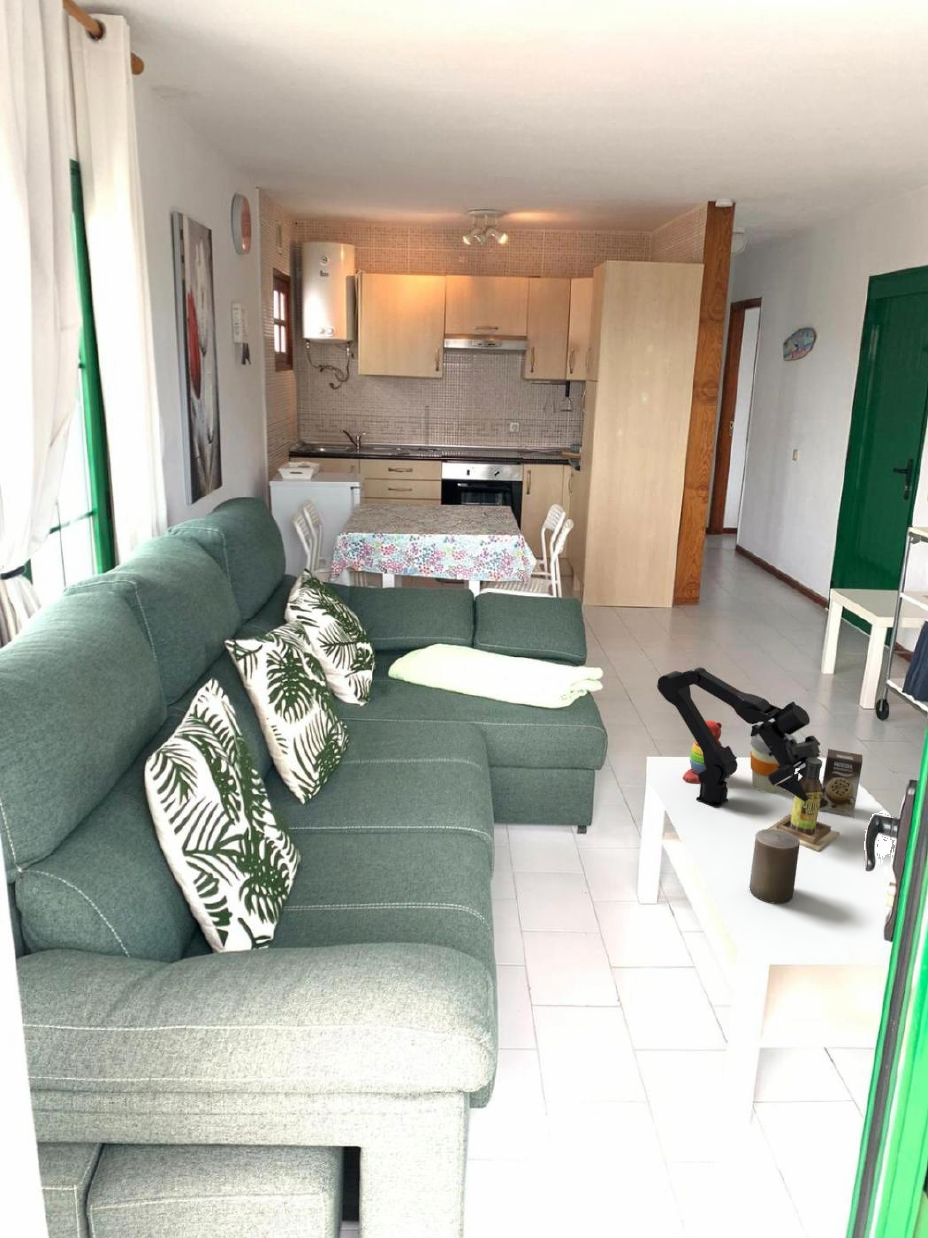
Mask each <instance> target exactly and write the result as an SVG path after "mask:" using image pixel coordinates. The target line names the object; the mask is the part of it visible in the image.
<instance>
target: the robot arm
mask: <svg viewBox="0 0 928 1238" xmlns="http://www.w3.org/2000/svg"><path fill="white" fill-rule="evenodd" d="M693 685H694V686H697V687H698V688H700V689H702V690H703V691H705V692H707V693H709V694H710V695H712V696H713V697H715V698H717V699H718V700H720V701H722V702H723V703H725V704H727V705H728V706H730V707H731V708H732V709H733V710H734V712H735V713H736V715H737V716H739V717H740V718H741V719H742V720H743V721H745V723H747V724H749V725H751V732H750V737H751V738H752V737H753V736H755V735H756V734H759V735H760V737H761V738H762V740H763V741H764V743H765V744H766V746H767V747H768V749H769V750H770V752H769V753H768V755H769V756H770V757H771V756H772V755H773V756H774V758H775V759H776V761H777V762H778V763H779V765H780V766H778V767H777V768H778V769H777V770H776V771H774V772H772V773H771V774H769V778H768V780H769V781H770V783H771V784H772V786H773V785H775V784H777V783H778V782H780V783H779V784H777V787H778V786H780V787H781V788H783V789H785V790H786V791H787V792H788V793H790V794H792V795H793V796H794V797H795V796H797V797H798V798H800V799H801V800H803V801H807V800H808V797H807V795H806V793H805V792H804V790H803V788H802V786H801V784H800V783H799V775H800V776H801V777H802V776H803V775H804V771H805V761H806V758H808V757H815V758H819V757H820V756H821V754H820V753H821V751H820V747H819V746H821V742H819V741H818V739H817V737H815V736H814V735H809V736H805V738H804V741H800V742H798V741H797V742H796V741H795V740H794V739H791V740H789V738H788V737H787V735H786V734H789V735H793V734H794V733H797V732H798V731H799V730H801V729H803V728H805V727H806V726H808V725H810V722H811V720H810V715H809V714H808V712H807V710H805V709H804V708H802V707H801V706H800V705H798V704H796V703H795V701H791V702H789V703H788V704H787V705H785V706H784V707H783V708H781V707H778V706H776V705H774V704H771V703H770V702H769V701H768V700H767V699H765V698H763V697H761V696H758V695H756V694H753V693H746V692H744V691H741V690H739V689H738V688H736V687H734V686H732V685H731V684H729V683H727V682H726V681H724V680H723V679H720V678H719V677H717V676H715V675H713V674H712V673H711V672H709V671H707V670H706V669H705V668H704V667H702V666H701V667H699V666H698V667H696V668H694V669H691V670H685V671H684V672H682V671H678V670H673V671H671V672H669V673H666V674H664V675H662V676H660V677H659V678H658V679H657V684H656V688H657V690H658V692H659V693H660V694H661V696H662V697H663V698H664V700H666V701H667V702H668V703H670V705H673V706H674V707H675V708H676V710H677V711H678V713H679V714H680V716H681V718H682V720H683V722H684V723H685V725H686V726H687V729H689V730H688V731H690V734H691V735H692V736H693V738H694V740H695V741H696V742H697V743H698V745H699V747H700V748H701V750H702V752H703V759H704V765H705V767H706V770H704V771H703V772H701V773H699V774H698V778H699V782H701V784H699V787H700V788H699V795H698V796H697V797H696V798H695V800H696V801H698V802H701V803H704V804H705V805H709V806H711V807H713V808H719V807H720V806H722V805H723V804H725V803H727V802H728V800H729V798H728V790H729V788H728V786H727V785H728V781H726V780H727V779H729V778H730V777H731V776H732V775H734V773H735V774H736V771H737V769H738V761H737V759H738V757H737V756H736V755H735V754H734V752H733V750H732V749H731V747H730V746H729V745H727V746H723V745H722V744H721V745H722V746H721V745H720V744H719V743H718V742H717V740H716V739H715V737H714V735H713V734H712V732H711V730H710V729H709V727H708V725H707V724H706V722H705V721H706V720H705V719H704V717H703V716H702V714H701V712H700V710H699V709H698V707H697V705H696V704H695V701H694V700H693V699H692V695H691V693H692V692H691V687H690V686H693ZM772 719H773V721H770V720H772ZM758 723H761V724H758ZM785 733H786V734H785ZM786 737H787V738H786ZM784 738H785V739H784ZM771 746H772V747H771ZM769 747H770V748H769ZM796 769H798V770H796ZM819 780H820V778H819ZM820 781H821V780H820ZM785 790H784V791H785Z"/></svg>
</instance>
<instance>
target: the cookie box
mask: <svg viewBox="0 0 928 1238" xmlns="http://www.w3.org/2000/svg"><path fill="white" fill-rule="evenodd" d="M826 752H827V753H826V758H825V763H824V764H825V765H824V770H823V778H822V781H821V784H822V794H821V800H820V805H819V811H818V812H824V813H830V814H834V815H840V816H845V817H850V818H854V816H855V809H856V803H857V797H858V793H859V785H860V780H861V773H862V772H861V771H862V766H863V755H862V754H860V753H859V754H858V753H853V752H848V751H841V750H836V749H831V748H828V749H827V751H826Z"/></svg>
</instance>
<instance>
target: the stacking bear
mask: <svg viewBox="0 0 928 1238" xmlns="http://www.w3.org/2000/svg"><path fill="white" fill-rule="evenodd" d="M705 722H706V724H707V725H708V727H709V729H710V730H711V732H712V734H713V735H714V737H715V739H716V740H717V742H718V743H719V744H720V745H721V746H723V745H722V743H721V741H720V738H721V735H722V727H723V725H722V723H721V722H716V721H713V720H705ZM689 763H690V767H691V768H690V769H688V770H687V771H686V772H685V773H684V774H683V775H682V776H683V777H682V779H683V781H685V782H686V783H689V784H699V785H701V782H699V778H698V774H699V773H701V772H703V771H704V770H706V767H705V765H704V759H703V752H702V750H701V748H700V747H699V745H698V743H697V742H696V740H695V741H694V742H693V745H692V747H691V751H690V754H689Z"/></svg>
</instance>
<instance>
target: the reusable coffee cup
mask: <svg viewBox="0 0 928 1238" xmlns="http://www.w3.org/2000/svg"><path fill="white" fill-rule="evenodd" d="M785 734H786V733H785ZM786 735H787V737H788V738H789V740H791V739H794V740H795V741H796V742H797V743H798V739H797V738H796V737H795V736H794V735H793V734H791V735H789V734H786ZM787 737H786V738H787ZM784 739H785V738H784ZM750 745H751V751H750V753H749V754H750V755H749V756H750V757H749V758H750V769H751V770H752V771H751V775H752V776H751V777H752V778H751V781H752V783H751V784H752V786H753V788H755V789H757V788H758V789H757V790H759V791H761V790H762V792H764V791H765V793H770V794H771V793H773V794H774V793H775V794H776V793H782V792H784V791H785V790H784V789H783V788H781V787H780V786H778V787H777V784H779V783H780V782H778V783H777V784H775V785H773V786H772V784H771V783H770V781H769V780H768V778H769V774H771V773H772V772H774V771H776V770H777V769H778V768H777V767H778V766H780V765H779V763H778V762H777V761H776V759H775V758H774V756H773V755H772V756H771V757H770V756H769V755H768V753H769V752H770V750H769V749H768V747H767V746H766V744H765V743H764V741H763V740H762V738H761V737H760V735H759V734H756V735H755V736H753V737H751V740H750ZM771 747H772V746H771ZM769 748H770V747H769Z"/></svg>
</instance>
